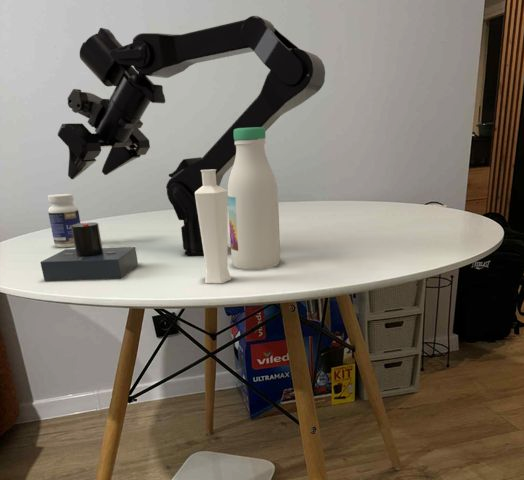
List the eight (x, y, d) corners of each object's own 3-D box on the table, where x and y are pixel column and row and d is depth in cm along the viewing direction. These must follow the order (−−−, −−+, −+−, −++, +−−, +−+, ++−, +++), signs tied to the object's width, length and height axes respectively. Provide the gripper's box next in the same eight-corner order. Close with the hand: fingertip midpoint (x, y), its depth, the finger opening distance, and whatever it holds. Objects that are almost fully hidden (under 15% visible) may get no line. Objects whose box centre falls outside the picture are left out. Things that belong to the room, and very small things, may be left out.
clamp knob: (74, 253, 80) (69, 222, 78) (100, 249, 81) (95, 219, 79) (78, 257, 76) (72, 225, 74) (105, 254, 78) (99, 222, 76)
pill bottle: (74, 247, 100) (64, 196, 96) (49, 248, 101) (38, 196, 97) (89, 242, 105) (80, 192, 101) (65, 242, 106) (55, 193, 102)
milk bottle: (287, 260, 82) (284, 126, 74) (268, 271, 75) (262, 126, 67) (245, 257, 85) (237, 128, 77) (223, 268, 78) (212, 129, 70)
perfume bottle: (207, 286, 69) (196, 171, 63) (197, 279, 73) (187, 170, 67) (237, 281, 71) (230, 169, 65) (227, 274, 75) (219, 168, 69)
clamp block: (138, 264, 84) (135, 245, 82) (121, 278, 75) (117, 258, 74) (68, 266, 84) (64, 248, 83) (44, 281, 76) (39, 260, 75)
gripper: (127, 76, 94) (92, 142, 102) (54, 66, 78) (19, 145, 87) (168, 120, 94) (129, 182, 102) (102, 119, 78) (63, 193, 87)
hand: (87, 175), depth 94 cm, fingers open, 9 cm apart
